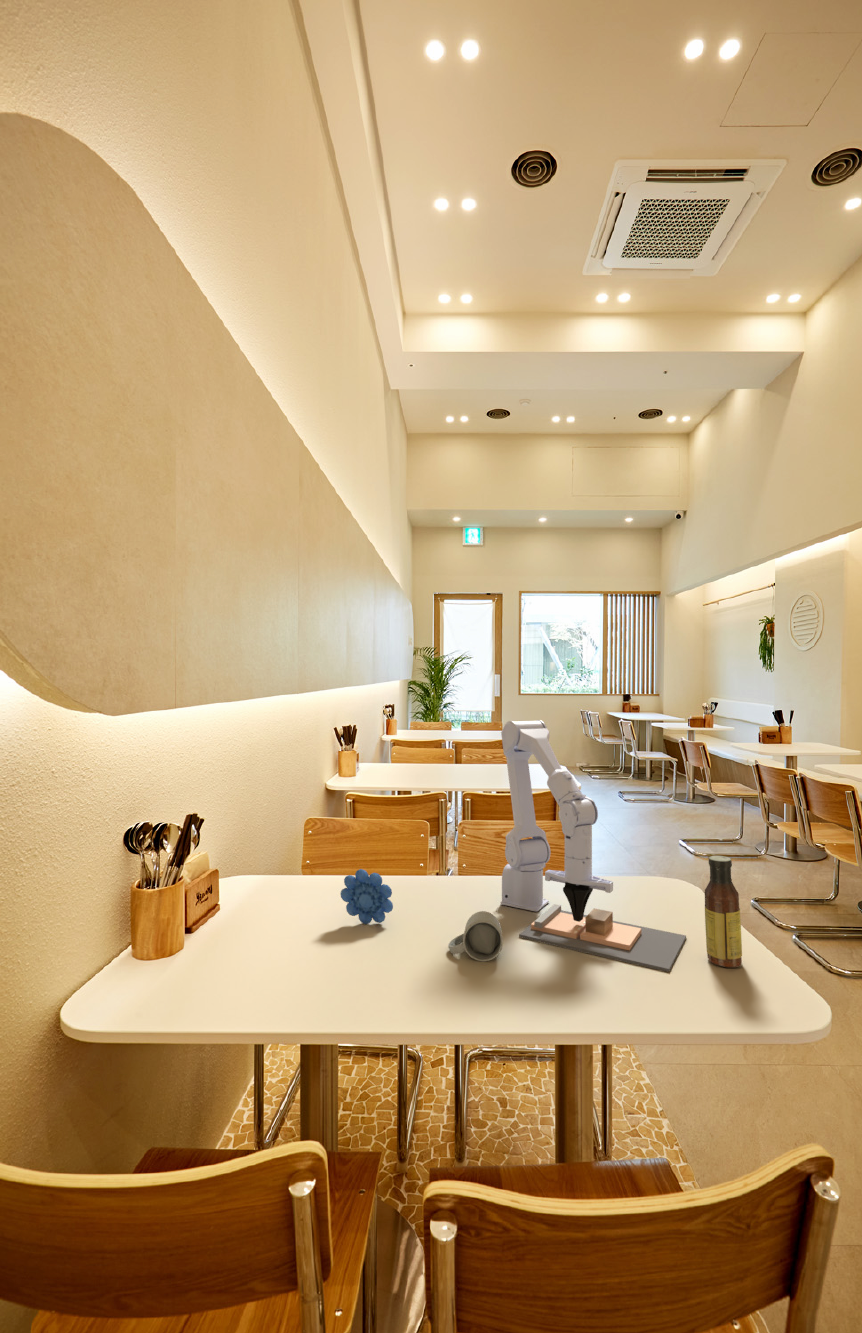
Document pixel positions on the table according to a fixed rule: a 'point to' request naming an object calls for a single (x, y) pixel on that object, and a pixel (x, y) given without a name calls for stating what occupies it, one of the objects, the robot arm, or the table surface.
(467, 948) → the ceramic mug
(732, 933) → the sauce bottle
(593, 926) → the peach square slab
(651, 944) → the mat
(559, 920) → the ticket
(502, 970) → the table surface
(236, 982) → the table surface
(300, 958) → the table surface
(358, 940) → the table surface
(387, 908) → the blue flower rosette
